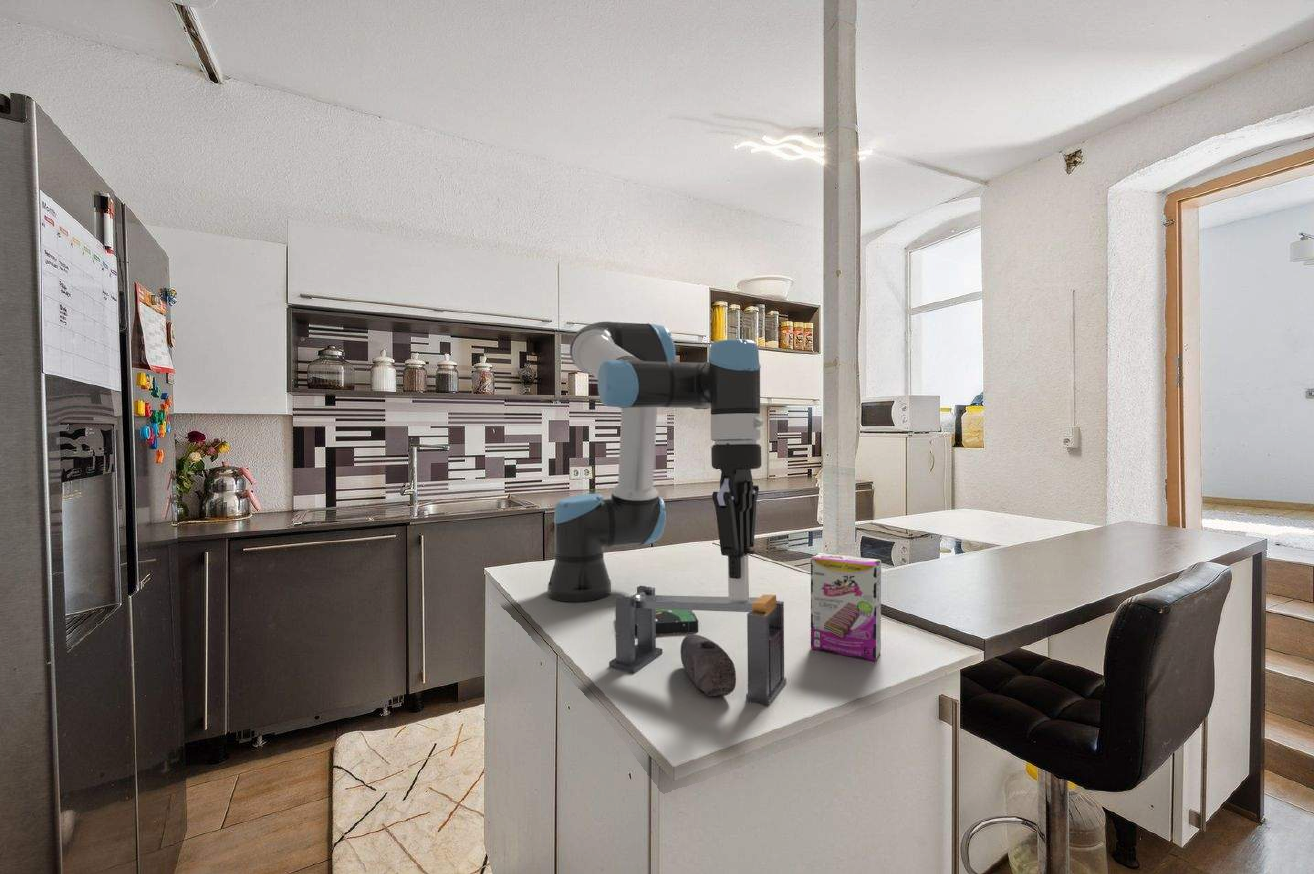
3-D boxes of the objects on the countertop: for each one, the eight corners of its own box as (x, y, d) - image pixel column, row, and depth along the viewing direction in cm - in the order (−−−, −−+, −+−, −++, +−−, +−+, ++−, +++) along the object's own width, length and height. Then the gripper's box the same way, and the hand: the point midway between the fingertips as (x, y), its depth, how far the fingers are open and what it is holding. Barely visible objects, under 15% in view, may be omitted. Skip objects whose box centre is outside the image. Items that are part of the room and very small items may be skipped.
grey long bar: (638, 603, 96) (637, 591, 96) (777, 608, 83) (775, 593, 83) (623, 611, 92) (621, 598, 92) (766, 617, 79) (764, 602, 79)
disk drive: (622, 639, 104) (699, 634, 106) (622, 625, 104) (699, 619, 106) (619, 621, 114) (689, 616, 116) (619, 607, 114) (689, 603, 116)
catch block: (764, 678, 86) (764, 598, 86) (786, 683, 84) (785, 601, 84) (745, 700, 79) (745, 613, 79) (768, 705, 77) (768, 617, 77)
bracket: (638, 647, 98) (637, 584, 98) (662, 653, 96) (661, 587, 96) (609, 666, 91) (608, 597, 91) (634, 673, 88) (633, 601, 88)
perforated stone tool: (671, 665, 91) (670, 623, 91) (700, 661, 93) (700, 620, 93) (705, 708, 77) (704, 659, 77) (739, 702, 78) (739, 654, 78)
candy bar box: (809, 650, 97) (809, 557, 97) (817, 640, 101) (816, 551, 101) (877, 663, 91) (876, 564, 91) (882, 652, 95) (881, 558, 95)
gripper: (743, 443, 76) (746, 613, 76) (773, 441, 87) (776, 590, 87) (694, 443, 80) (697, 606, 80) (730, 442, 91) (732, 584, 91)
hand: (738, 597), depth 83 cm, fingers closed
